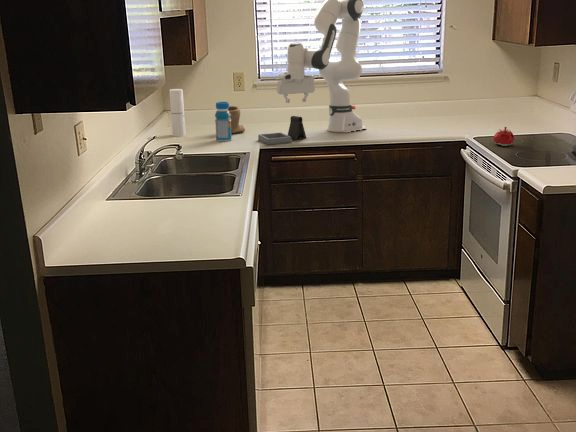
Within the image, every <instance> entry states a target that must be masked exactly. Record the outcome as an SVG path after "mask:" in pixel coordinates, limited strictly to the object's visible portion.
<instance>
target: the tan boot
mask: <svg viewBox="0 0 576 432" xmlns="http://www.w3.org/2000/svg"><path fill="white" fill-rule="evenodd" d="M228 111H229V112H230V114H231V116H230V118H231V134H238V133H243V132H245V131H246V129H245V127H244V125H242V124H241V125H240V118H241V108H239V107H238V106H236V105H229V109H228Z"/></svg>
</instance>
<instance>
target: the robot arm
mask: <svg viewBox="0 0 576 432" xmlns="http://www.w3.org/2000/svg"><path fill="white" fill-rule="evenodd" d="M363 11H364V3H363V1H362V0H325V1H324V2H323V4H321V6H320V7H319V9H318V11H317V13H316V15H315V17H314V21H313V23H314V26H315V28H316V30H317V32H318V33H320V34H322V35H324V37H323V39H322V42H321V46H320V47H318V48H317V49H316V48H315V49H314V48H313V49H312V48H308V47H306V46H305V45H304V43H303V42H292V43H290V44H289V45H288V48H287V54H286V56H287V69H286V70H287V71H286V72H282V73H280V74H278V81H277V83H276V85H277V86H276V92H277V94H278V95H283V98H284V99H285V103H287V104H288V103H289V104H290V102H291V100H290V98H288V96H289V95H290V94H291V95H294V94H296V95H297V94H304V97H302V98H301V101H302V102H303V103H305V102H307V98H308V96H309V93H311V94H313V93H314V92H315V90H316V89H315V77H314V75H312V74H305V72H306V71H305V69H306V68H308V69H315V70H318V72H319V75H320V77H322V78H323V79H324V81H325V83H326V84H327V87H328V90H329V105H328V113H329V114H328V115H329V118H328V123H327V128H326V130H327V132H328V131H329V132H333V133H334V132H335V133H352V132H351V131H354V132H357V131H356V130H360V131H362V130H361V129H366V130H367V126H365V125H363V119H362V117H360V116H359V115H358V114H356V113H355V112H354V111H353V110H356V109H357V107H356V105H351V102H350V99H351V98H350V97H351V94H350V93H351V91H350V89H349V88H347V86H345V85H344V82H343V81H355V80H358V79H359V78H360V76H362V72H363V67H362V65H361V63H360V62H359V60H358V59H357V55H356V53H357V51H356V50H357V47H358V42H359V41H358V40H359V38H360V33H361V32H360V31H361V21H360V19H361V17H362V14H363ZM338 20H341V26H340V28H339V32H338V35H337V30H338V29H337V26H336V24H337V22H338ZM337 36H338V37H337ZM336 37H337V40H336V44H335V48H336V51H337V52H338V53H339V54H341V57H340V59H337V58H336V59H335V58H330V57H331V53H332V49H333V46H334V43H335V39H336Z"/></svg>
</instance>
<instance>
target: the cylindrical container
mask: <svg viewBox="0 0 576 432" xmlns="http://www.w3.org/2000/svg"><path fill="white" fill-rule="evenodd" d="M183 90H184V89H182V88H170V89H169V102H170V103H169V104H170V117H171V118H170V119H171V128H172V129H171V130H172V137H184V136H186V135H187V134H186V133H187V132H186V119H185V105H184V103H185V101H184V91H183Z"/></svg>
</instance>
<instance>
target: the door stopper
mask: <svg viewBox="0 0 576 432" xmlns="http://www.w3.org/2000/svg"><path fill="white" fill-rule="evenodd" d="M287 135H288V136H290V137H291V141H294V142H296V141H301V140H305V139H307V135H306V130H305V127H304V123H303V117H302V116H298V115H296V116H295V115H292V116H290V122H289V127H288V132H287Z"/></svg>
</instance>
